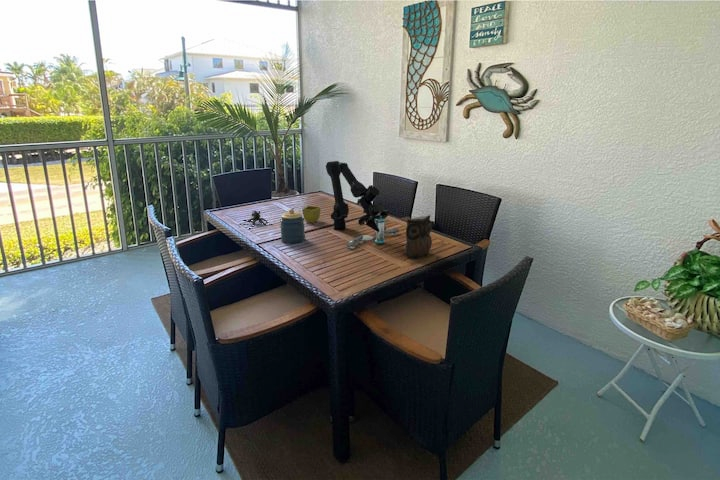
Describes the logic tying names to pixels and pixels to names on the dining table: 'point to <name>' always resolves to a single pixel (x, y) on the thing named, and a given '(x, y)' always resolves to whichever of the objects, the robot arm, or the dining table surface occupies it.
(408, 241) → the owl
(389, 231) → the shaft
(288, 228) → the canister
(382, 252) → the dining table surface
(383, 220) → the coupling
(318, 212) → the flower pot
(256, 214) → the octopus toy
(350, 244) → the shaft
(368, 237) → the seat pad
